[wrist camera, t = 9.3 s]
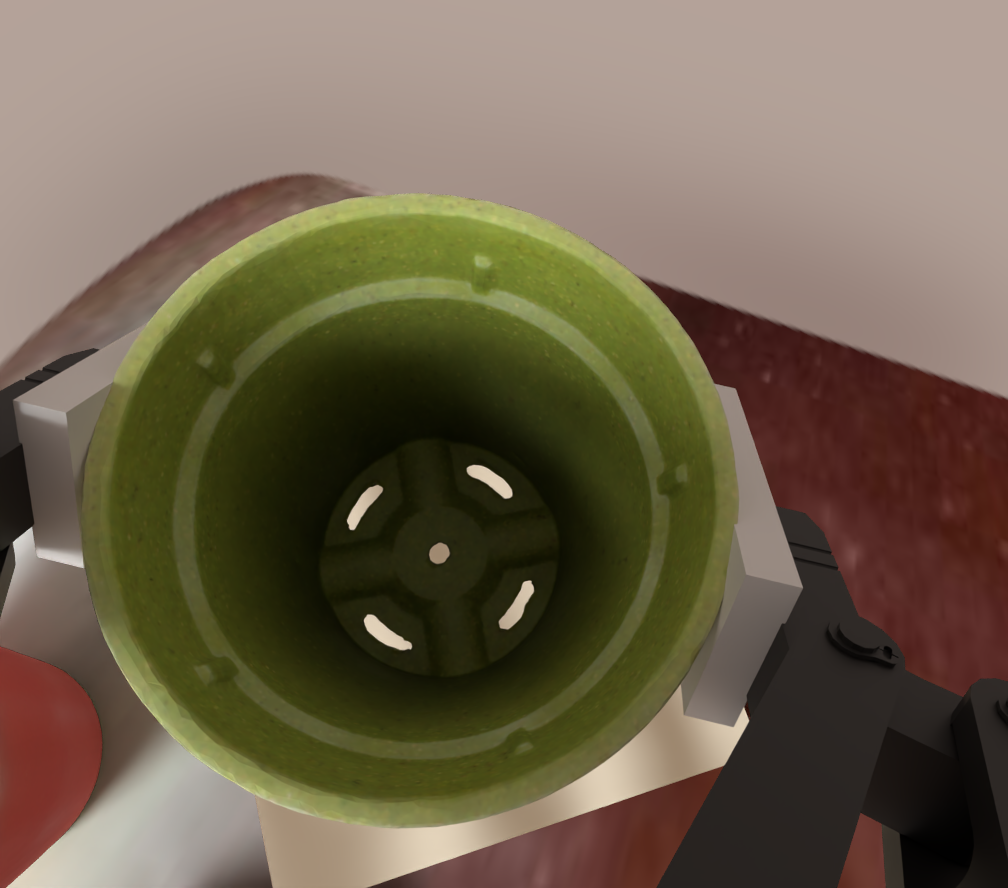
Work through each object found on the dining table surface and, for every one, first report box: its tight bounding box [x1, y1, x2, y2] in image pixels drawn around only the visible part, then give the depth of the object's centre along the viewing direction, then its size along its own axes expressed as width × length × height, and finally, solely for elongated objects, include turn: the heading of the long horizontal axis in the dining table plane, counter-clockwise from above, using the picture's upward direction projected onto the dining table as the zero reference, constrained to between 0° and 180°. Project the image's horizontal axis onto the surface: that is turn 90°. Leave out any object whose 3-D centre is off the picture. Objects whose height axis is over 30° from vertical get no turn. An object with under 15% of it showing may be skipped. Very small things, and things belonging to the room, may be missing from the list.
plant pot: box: [81, 193, 739, 829], centre depth 15 cm, size 9×9×9 cm
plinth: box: [255, 465, 749, 888], centre depth 30 cm, size 18×18×3 cm
